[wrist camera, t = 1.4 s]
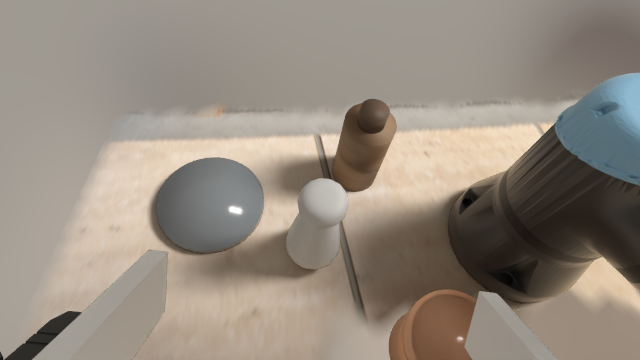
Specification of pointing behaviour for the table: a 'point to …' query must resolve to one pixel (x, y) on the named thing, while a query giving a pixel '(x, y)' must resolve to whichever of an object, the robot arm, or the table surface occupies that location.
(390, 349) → the terracotta pot
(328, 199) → the salt shaker
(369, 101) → the walnut pepper mill
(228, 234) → the slate coaster
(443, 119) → the table surface
